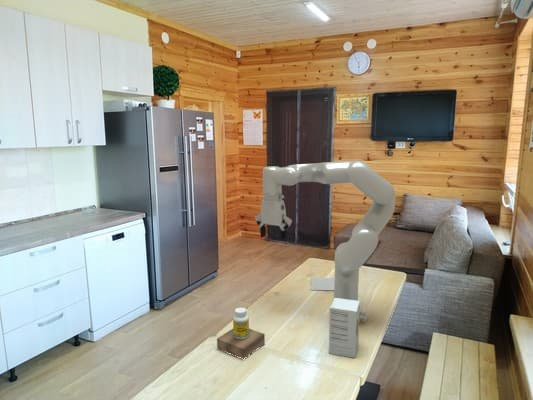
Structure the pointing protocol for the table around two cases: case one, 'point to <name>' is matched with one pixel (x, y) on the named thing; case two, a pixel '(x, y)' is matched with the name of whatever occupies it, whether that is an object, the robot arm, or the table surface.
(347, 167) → the robot arm
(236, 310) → the supplement bottle
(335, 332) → the supplement box
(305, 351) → the table surface
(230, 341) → the walnut stand
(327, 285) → the paper stack
